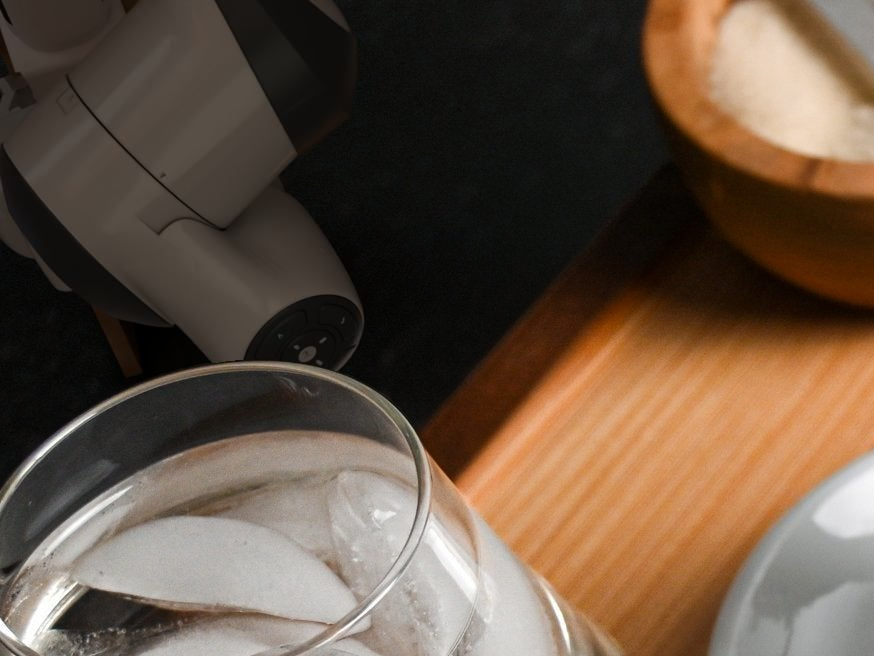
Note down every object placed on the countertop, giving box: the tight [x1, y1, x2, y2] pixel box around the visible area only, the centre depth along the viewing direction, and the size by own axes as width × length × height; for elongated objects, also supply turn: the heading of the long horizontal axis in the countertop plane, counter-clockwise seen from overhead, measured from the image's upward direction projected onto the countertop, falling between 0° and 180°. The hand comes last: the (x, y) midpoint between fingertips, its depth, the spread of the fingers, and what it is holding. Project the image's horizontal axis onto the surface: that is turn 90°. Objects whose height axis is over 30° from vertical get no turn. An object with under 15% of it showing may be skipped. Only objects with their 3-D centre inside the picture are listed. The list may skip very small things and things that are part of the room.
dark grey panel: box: [0, 0, 126, 103], centre depth 115 cm, size 7×7×12 cm
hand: (88, 53), depth 111 cm, fingers open, 8 cm apart
